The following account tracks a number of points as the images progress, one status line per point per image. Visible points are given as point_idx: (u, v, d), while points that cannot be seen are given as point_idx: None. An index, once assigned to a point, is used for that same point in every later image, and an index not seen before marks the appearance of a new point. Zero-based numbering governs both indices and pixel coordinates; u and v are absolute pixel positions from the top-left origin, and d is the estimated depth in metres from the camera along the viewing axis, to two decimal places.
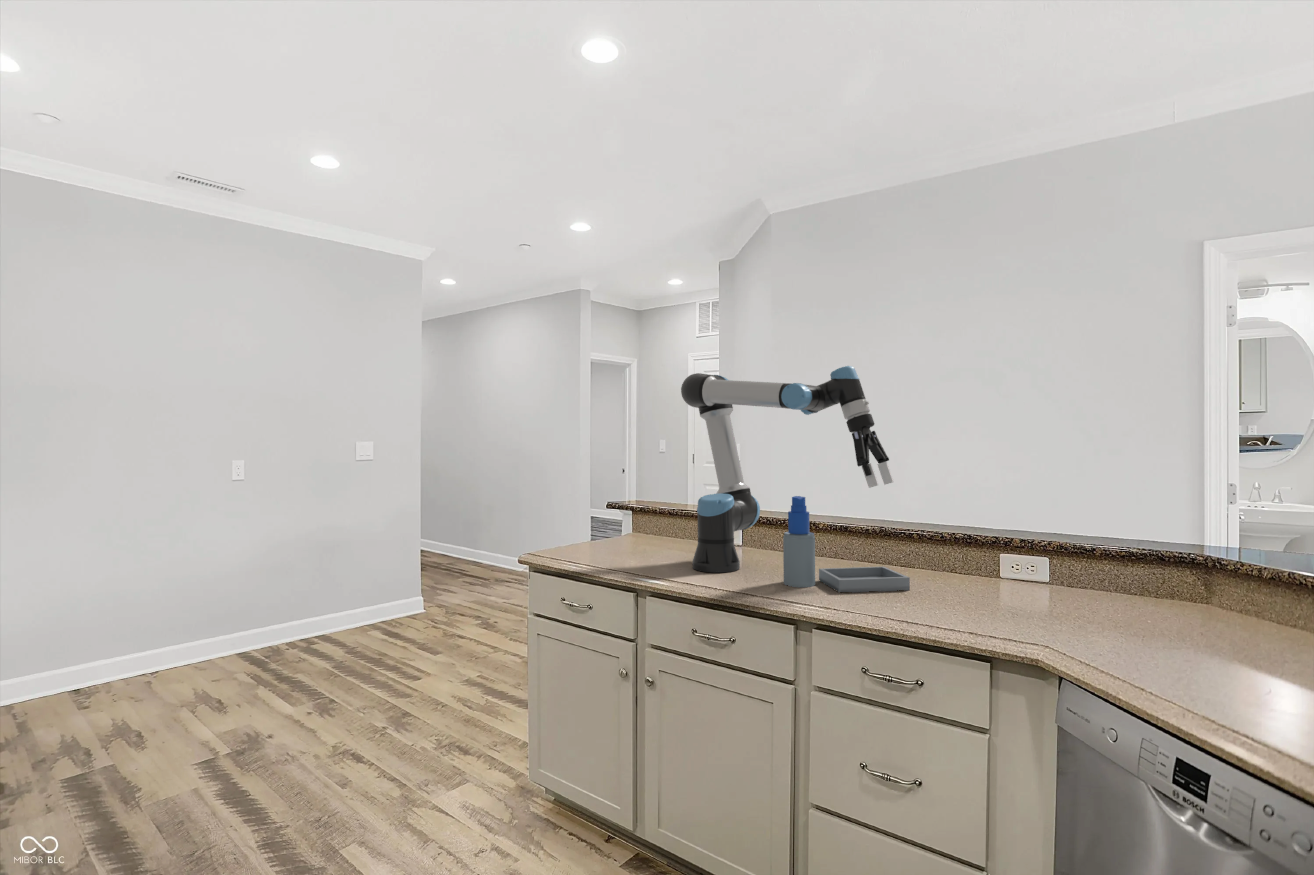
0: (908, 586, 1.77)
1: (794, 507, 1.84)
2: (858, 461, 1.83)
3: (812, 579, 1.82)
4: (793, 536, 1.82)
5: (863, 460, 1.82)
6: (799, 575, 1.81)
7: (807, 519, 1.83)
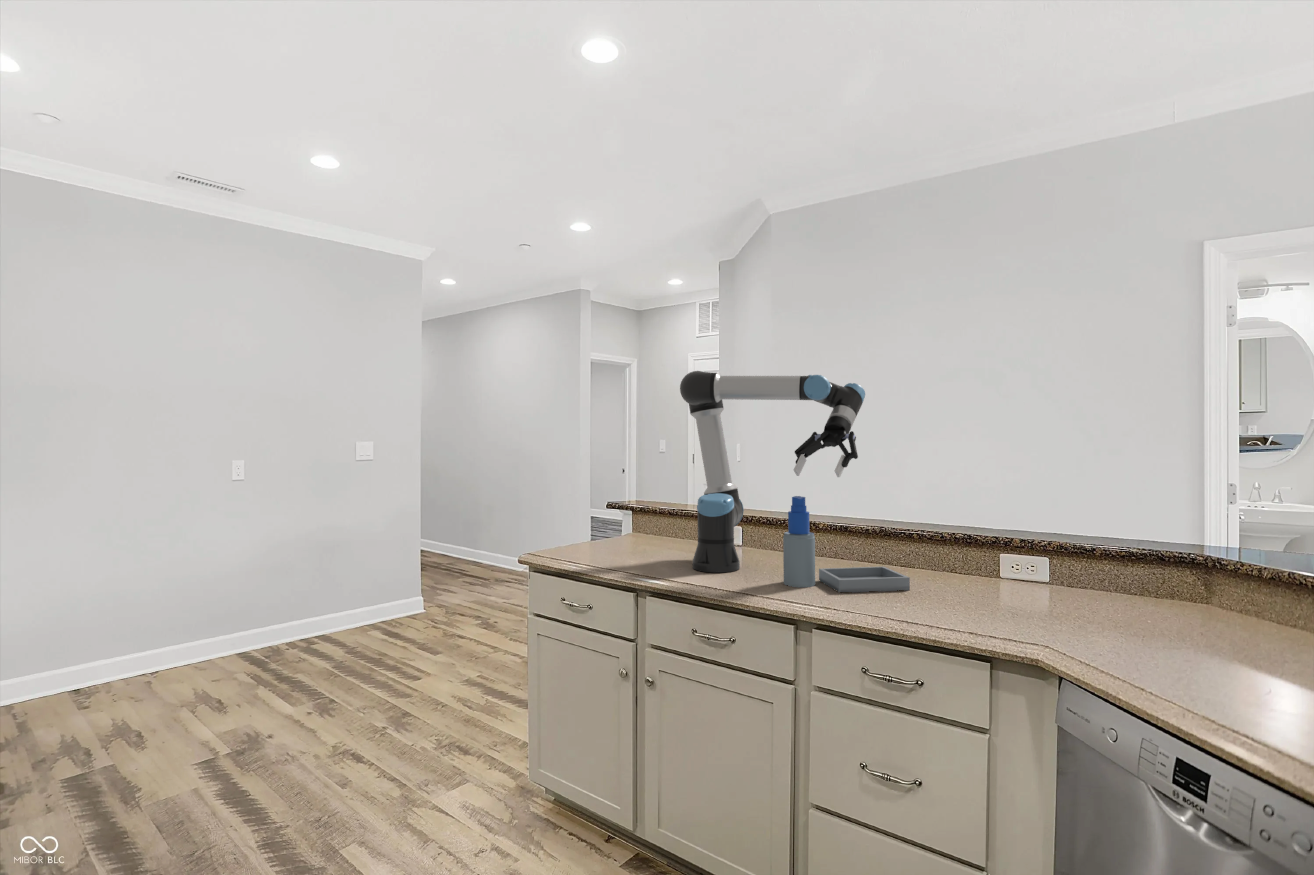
0: (908, 586, 1.77)
1: (794, 507, 1.84)
2: (855, 453, 1.89)
3: (812, 579, 1.82)
4: (793, 536, 1.82)
5: (856, 456, 1.90)
6: (799, 575, 1.81)
7: (807, 519, 1.83)
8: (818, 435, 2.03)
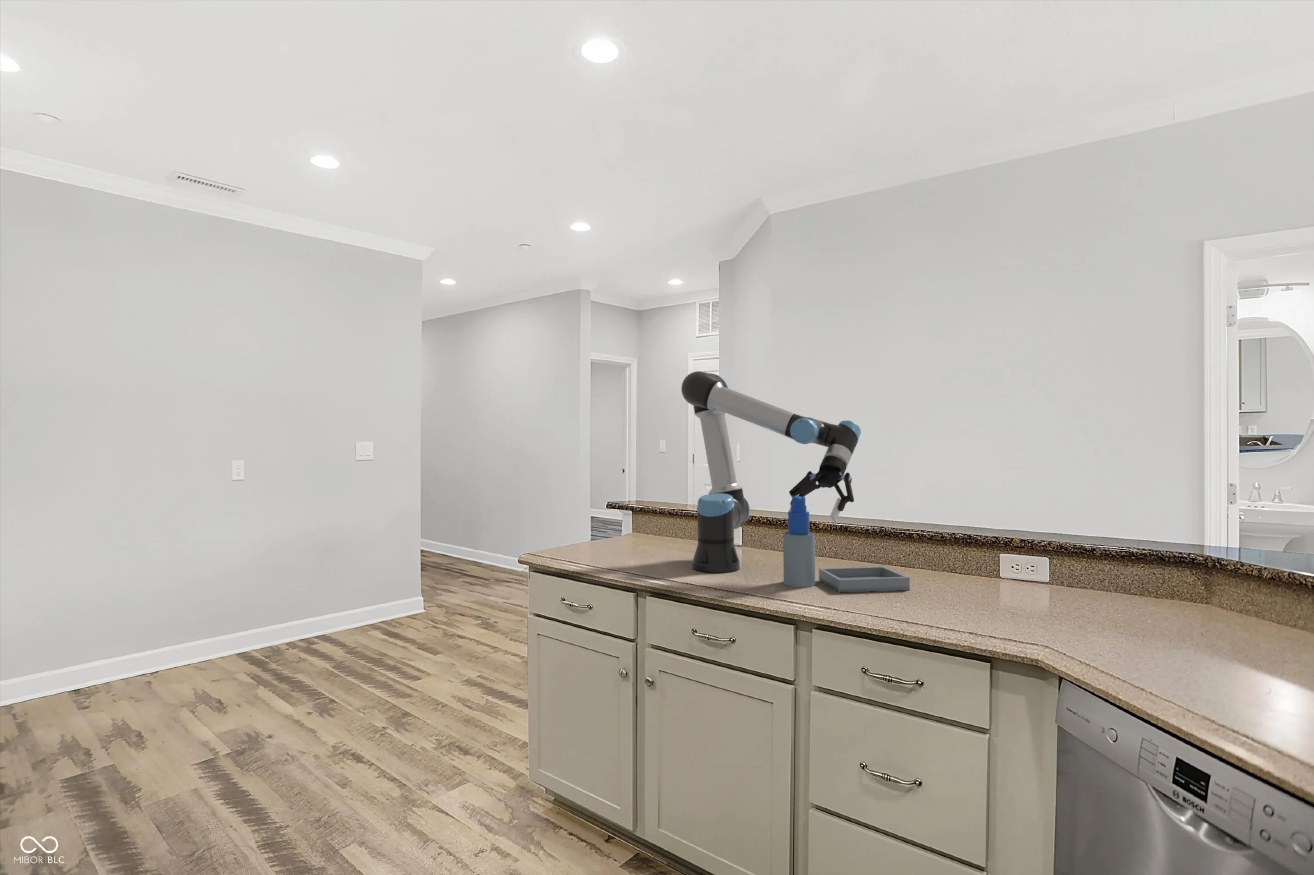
0: (908, 586, 1.77)
1: (794, 507, 1.84)
2: (851, 496, 1.85)
3: (812, 579, 1.82)
4: (793, 536, 1.82)
5: (853, 500, 1.85)
6: (799, 575, 1.81)
7: (807, 519, 1.83)
8: (813, 475, 1.99)
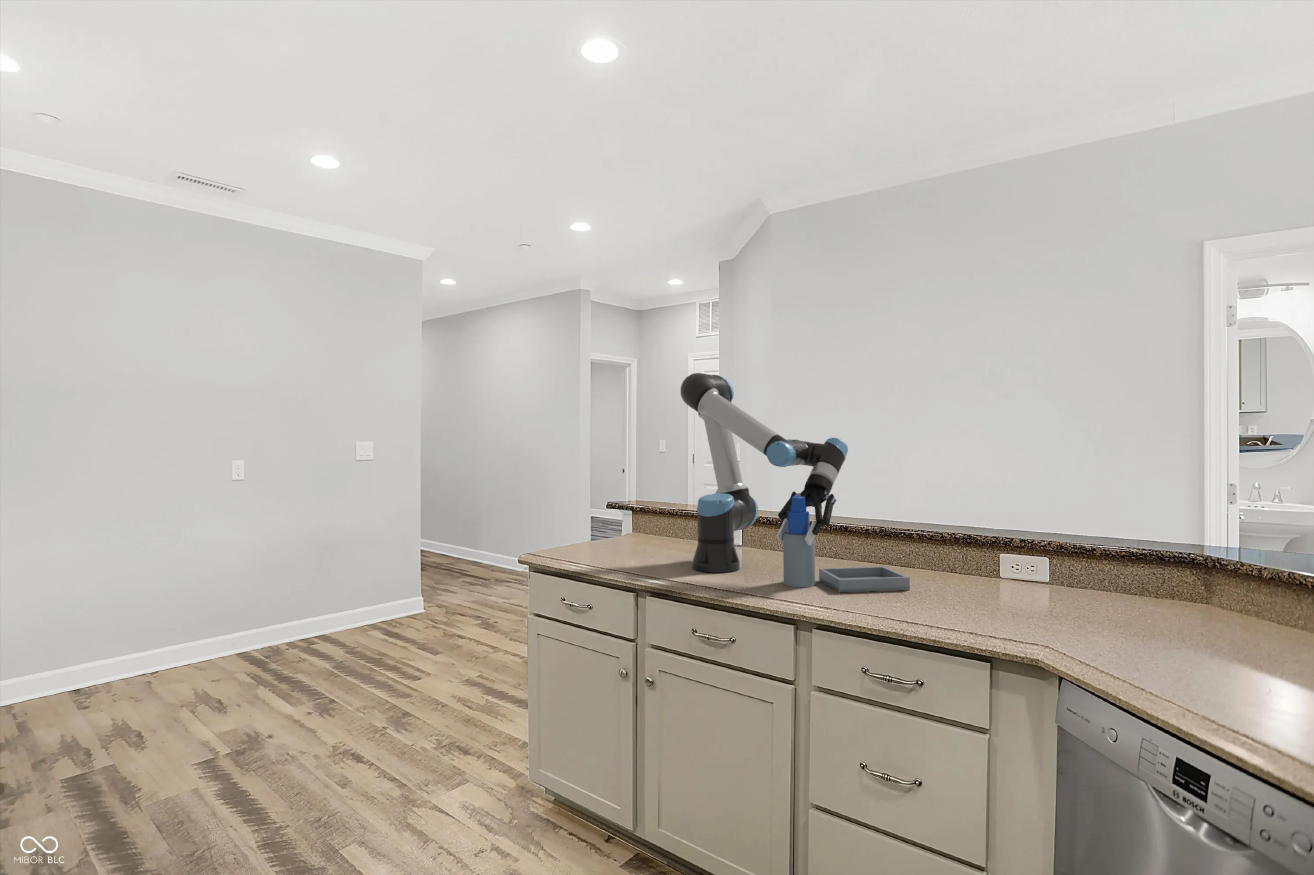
0: (908, 586, 1.77)
1: (794, 507, 1.84)
2: (826, 520, 1.81)
3: (812, 579, 1.82)
4: (793, 536, 1.82)
5: (827, 524, 1.82)
6: (799, 575, 1.81)
7: (807, 519, 1.83)
8: (798, 494, 1.94)
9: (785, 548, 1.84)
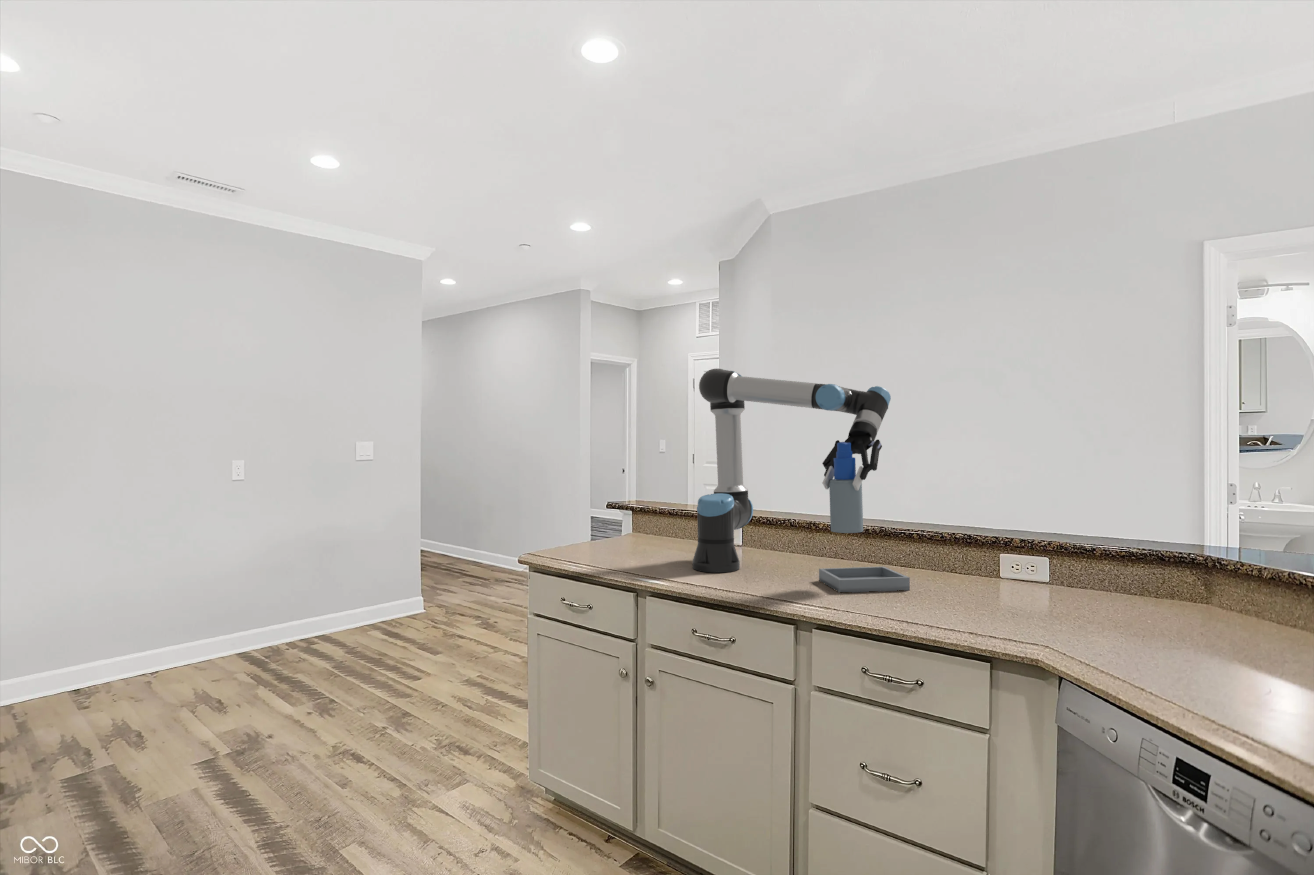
0: (908, 586, 1.77)
1: (840, 452, 1.81)
2: (874, 464, 1.79)
3: (860, 525, 1.80)
4: (840, 481, 1.79)
5: (875, 468, 1.79)
6: (847, 520, 1.79)
7: (853, 464, 1.81)
8: None
9: (832, 494, 1.82)
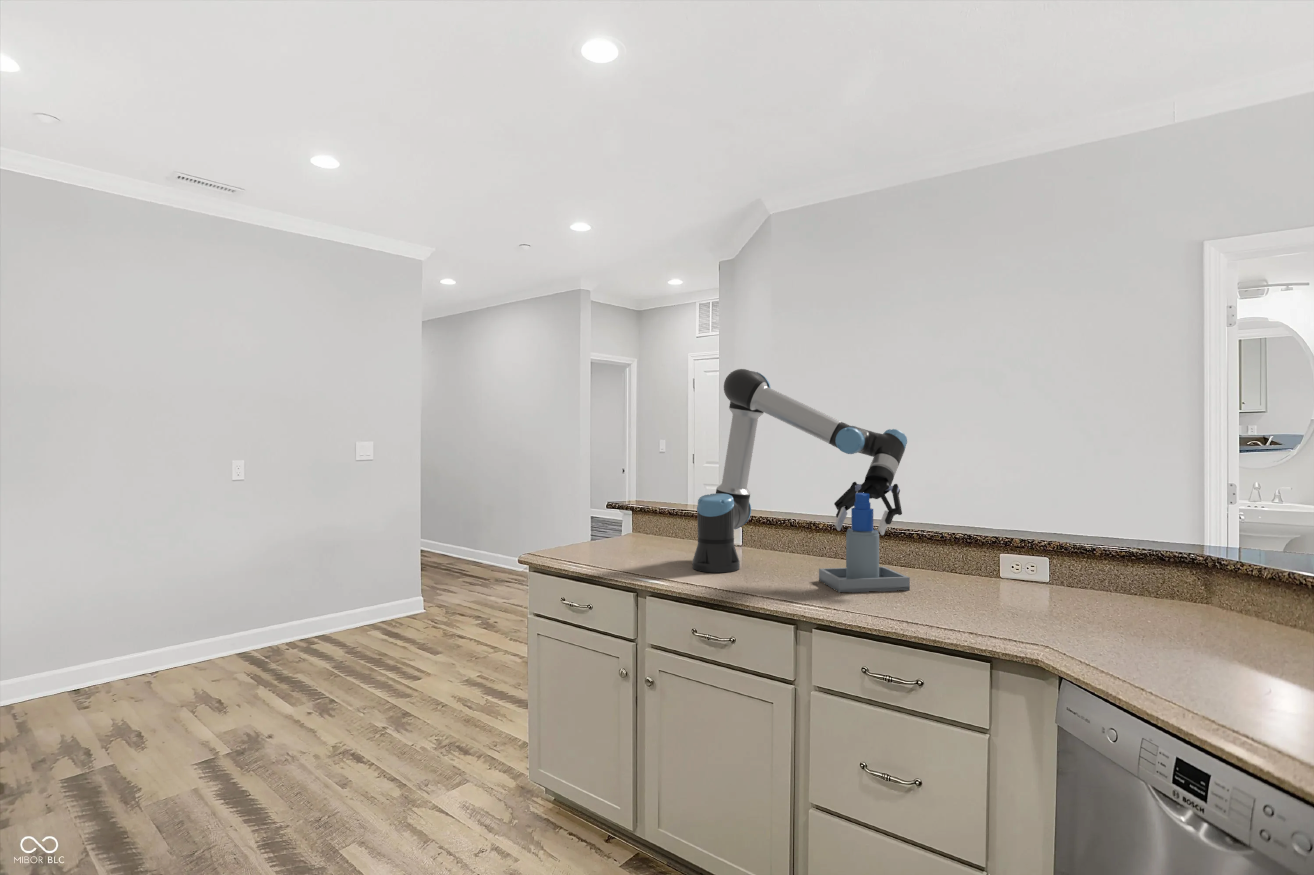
0: (908, 586, 1.77)
1: (858, 503, 1.81)
2: (899, 509, 1.78)
3: (877, 577, 1.80)
4: (858, 533, 1.79)
5: (901, 513, 1.79)
6: (864, 573, 1.79)
7: (871, 516, 1.81)
8: (858, 485, 1.92)
9: (849, 545, 1.81)
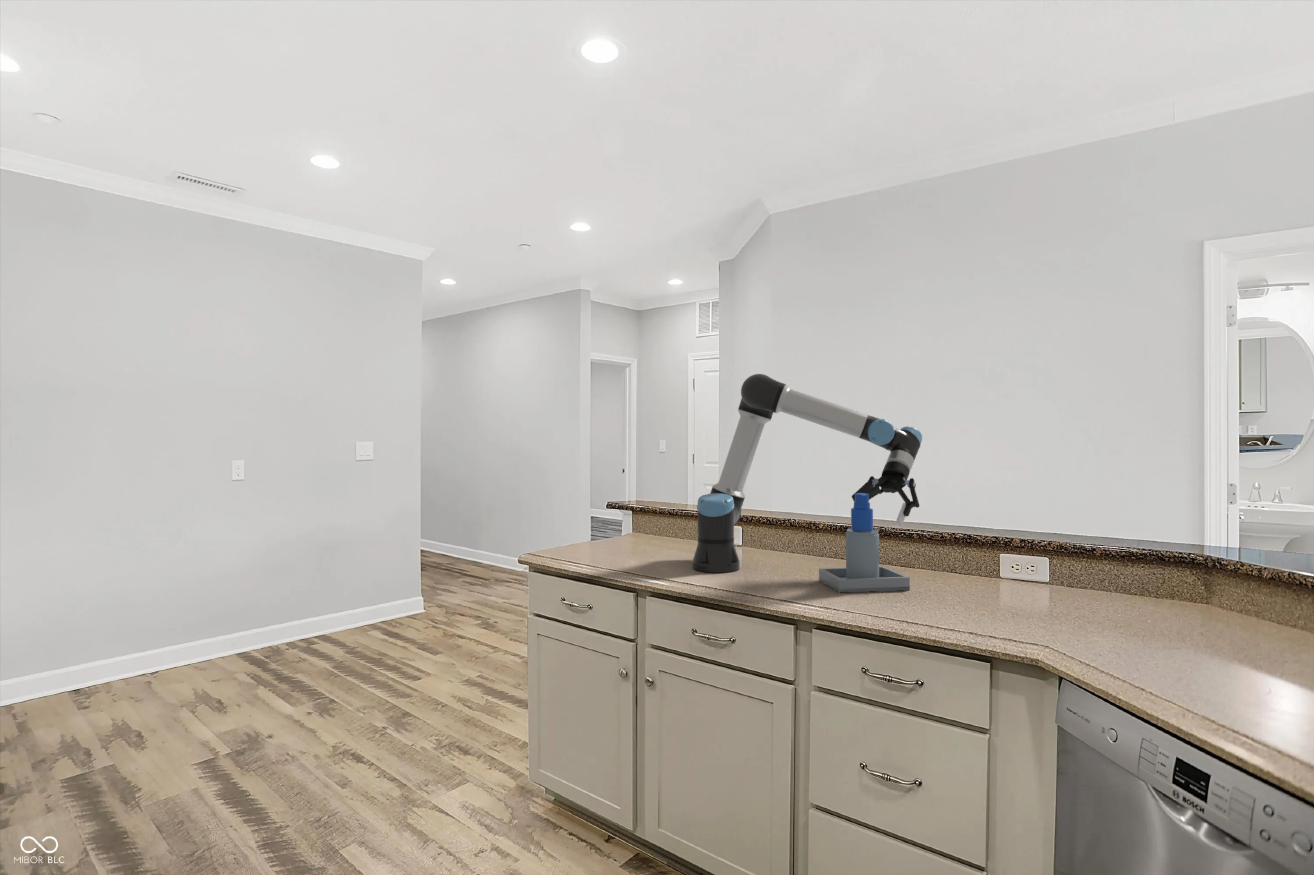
0: (908, 586, 1.77)
1: (858, 504, 1.81)
2: (917, 501, 1.87)
3: (876, 577, 1.80)
4: (857, 533, 1.79)
5: (918, 505, 1.88)
6: (864, 573, 1.79)
7: (871, 516, 1.81)
8: (875, 480, 2.01)
9: (849, 545, 1.82)
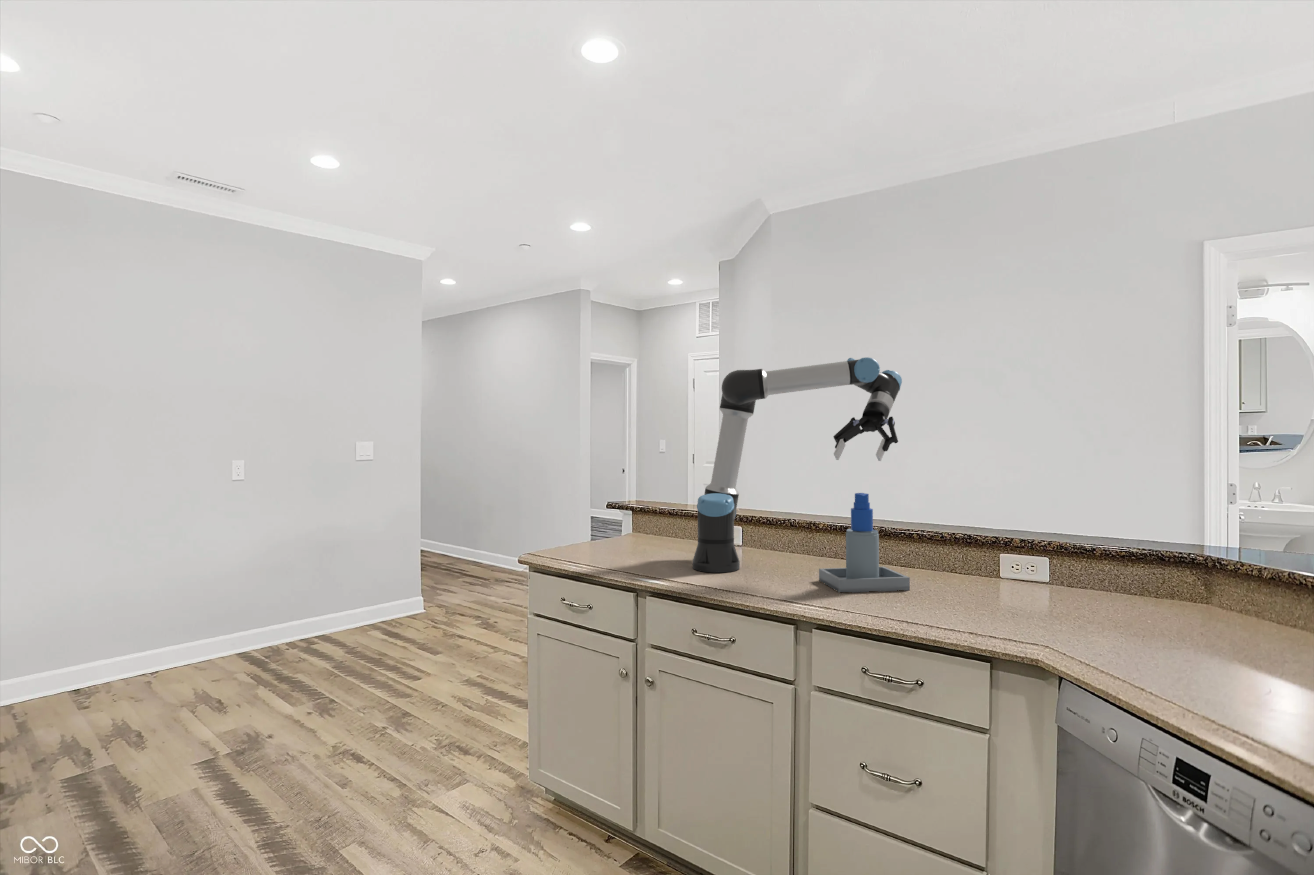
0: (908, 586, 1.77)
1: (858, 504, 1.81)
2: (896, 437, 1.93)
3: (876, 577, 1.80)
4: (857, 533, 1.79)
5: (897, 441, 1.94)
6: (864, 573, 1.79)
7: (871, 516, 1.81)
8: (856, 421, 2.07)
9: (848, 545, 1.82)
